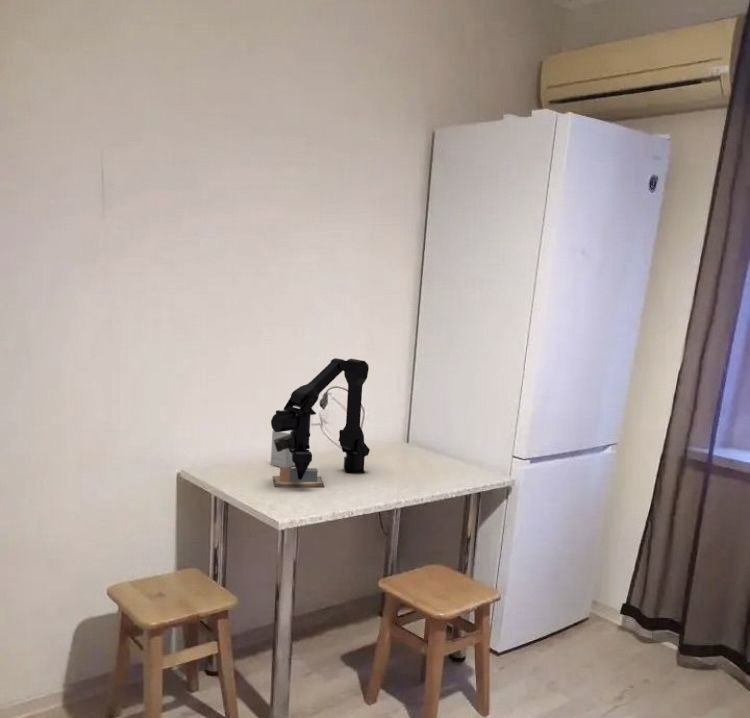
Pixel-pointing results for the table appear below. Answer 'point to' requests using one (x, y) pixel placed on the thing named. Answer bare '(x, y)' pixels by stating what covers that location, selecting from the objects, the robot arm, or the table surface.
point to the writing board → (297, 483)
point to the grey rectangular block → (291, 475)
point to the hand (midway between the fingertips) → (298, 475)
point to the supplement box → (281, 452)
